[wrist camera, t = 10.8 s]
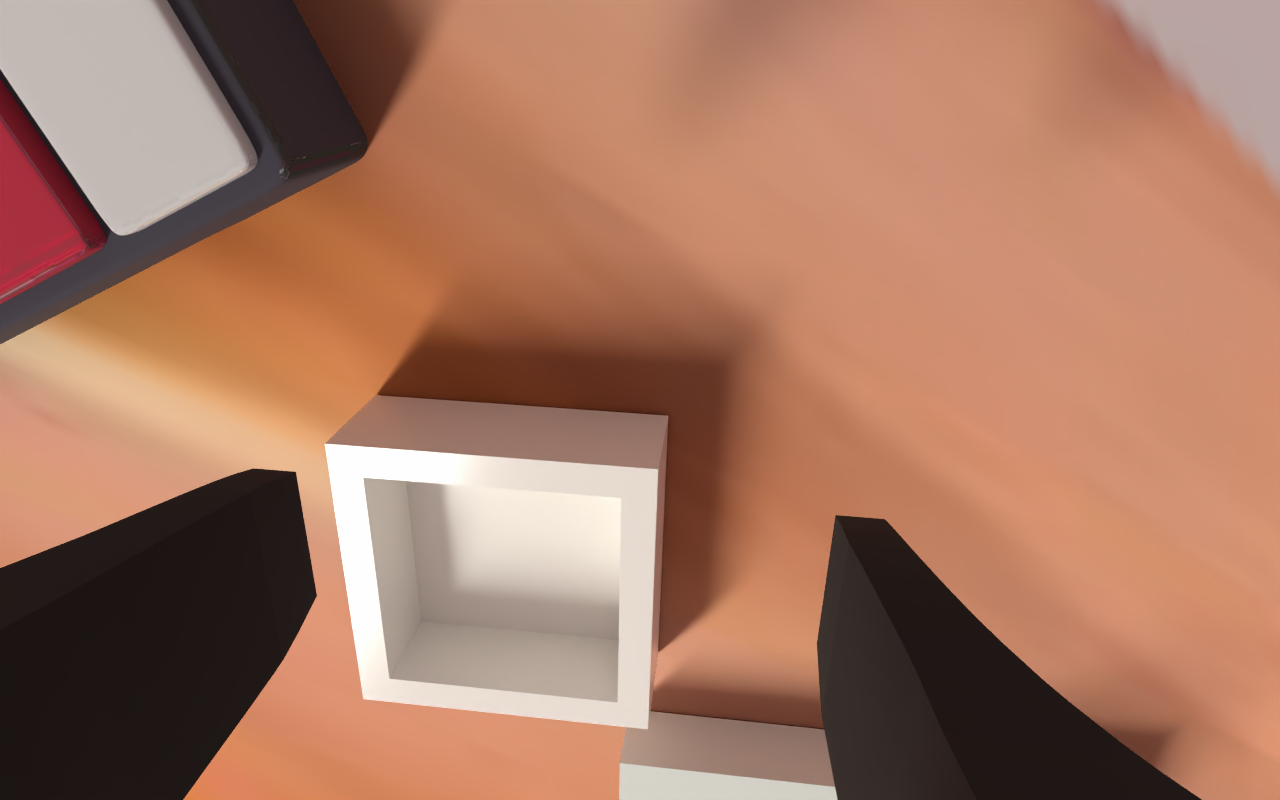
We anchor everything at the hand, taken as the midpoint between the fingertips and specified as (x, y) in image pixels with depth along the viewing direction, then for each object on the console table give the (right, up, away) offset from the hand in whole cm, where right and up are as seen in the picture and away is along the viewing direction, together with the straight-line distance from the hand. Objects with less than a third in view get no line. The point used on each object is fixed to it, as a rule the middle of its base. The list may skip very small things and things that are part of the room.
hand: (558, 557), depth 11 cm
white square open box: (-2, -2, +11) cm, 12 cm away
